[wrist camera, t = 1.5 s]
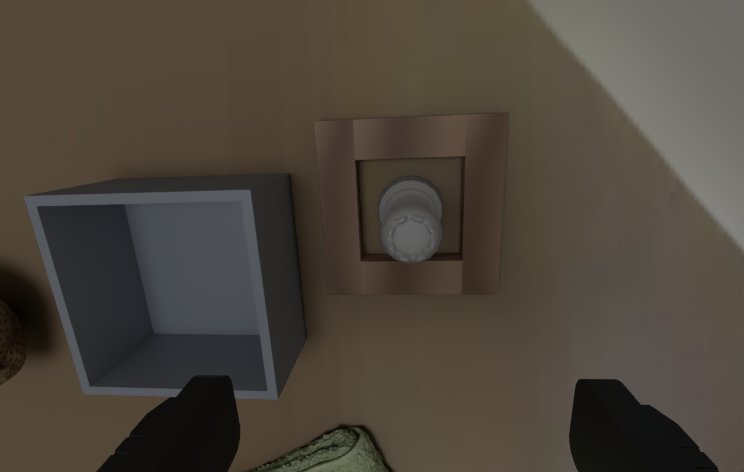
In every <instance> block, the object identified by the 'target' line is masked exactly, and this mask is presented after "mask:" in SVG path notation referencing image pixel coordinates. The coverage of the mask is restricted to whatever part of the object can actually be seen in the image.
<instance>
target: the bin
mask: <svg viewBox="0 0 744 472" xmlns="http://www.w3.org/2000/svg"><path fill="white" fill-rule="evenodd" d="M24 199H25V202H26V206H27V209H28V212H29V215H30V219H31V222H32V225H33V229H34V232H35V235H36V239H37V242H38V245H39V248H40V252H41V255H42V258H43V262H44V265H45V268H46V271H47V275H48V278H49V281H50V285H51V288H52V291H53V295H54V298H55V301H56V304H57V308H58V311H59V314H60V318H61V321H62V324H63V328H64V331H65V334H66V337H67V341H68V344H69V347H70V351H71V354H72V357H73V360H74V364H75V367H76V370H77V374H78V377H79V380H80V384H81V387H82V390H83V393H84V394H97V395H132V396H168V397H176V396H177V395H178V394H179V393H180V391H181V390H182V389H183V388H184V387H185V385H186V384H187V383H188V382H189V380H190V379H191V378H192V377H194V376H195V375H228V376H229V377H230V378H231V380H232V384H233V390H234V395H235V398H239V399H275V400H278V399H279V397H280V394H281V392H282V390H283V388H284V386H285V384H286V382H287V380H288V377H289V375H290V373H291V371H292V369H293V367H294V365H295V363H296V360H297V358H298V356H299V354H300V352H301V350H302V348H303V346H304V343H305V341H306V339H307V337H306V327H305V317H304V308H303V298H302V288H301V278H300V268H299V259H298V249H297V239H296V229H295V219H294V210H293V200H292V190H291V180H290V174H260V175H229V176H198V177H167V178H136V179H114V180H109V181H103V182H98V183H92V184H87V185H81V186H76V187H70V188H65V189H59V190H54V191H49V192H43V193H38V194H32V195H27V196H24Z"/></svg>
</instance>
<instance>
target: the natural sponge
mask: <svg viewBox="0 0 744 472" xmlns="http://www.w3.org/2000/svg"><path fill="white" fill-rule="evenodd" d="M25 359H26V347H25V343H24V340H23V336H22V330H21V325H20V322H19V319H18V317H17V315H16V314H15V312H14V311H13V309H12V308H11V307H10V306H9V305H7V304H6V303H4V302H3V301H2V300H1V299H0V385H1V384H3V383H4V382H6V381H8V380H9V379H11V378H12V377H13V376H15V375H16V374H17V373H18V372H19V371H20V369H21V367H22V366H23V364H24V362H25Z"/></svg>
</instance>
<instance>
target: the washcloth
mask: <svg viewBox="0 0 744 472" xmlns="http://www.w3.org/2000/svg"><path fill="white" fill-rule="evenodd" d="M253 472H389V471H388V469H387V468H386V467H385V466H384V465H383V462H382V456H381V455H380V453H379V451H376V449H375V447H374V445H373V443H372V441H371V440H370V438H369V436H368V435H367V433H366V432H364V431H363V430H362V429H360V428H357V427H350V428H347V429H338V430H335V431H334V432H331V433H328V434H325V435H324V436H322V438H321V439H318V440H315V441H313V442H311V443H309V444H308V445H307V446H306V447H304V448H297V449H296V450H294V451H292V452H290V453H288V454H287V455H285V456H284V457H282V458H279V459H278V460H277V461H276V462H272V463H271V464H267V465H265V466H263V465H262V466H261V468H258V470H253Z"/></svg>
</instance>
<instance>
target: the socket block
mask: <svg viewBox="0 0 744 472" xmlns="http://www.w3.org/2000/svg"><path fill="white" fill-rule="evenodd" d="M314 127H315V139H316V152H317V164H318V176H319V189H320V201H321V213H322V226H323V238H324V250H325V263H326V275H327V287H328V294H498V289H499V271H500V254H501V236H502V218H503V201H504V183H505V166H506V148H507V130H508V113H488V114H467V115H445V116H423V117H401V118H379V119H357V120H335V121H314ZM456 156H462V171H461V211H460V252H459V254H433V255H432V256H431V258H429V259H427V260H424V261H422V262H420V263H411V264H407V263H403V262H400V261H397V260H395V259H394V258H393V257H391V256H390V255H389V254H373V255H363V246H362V226H361V207H360V187H359V168H358V160H370V159H399V158H427V157H456Z"/></svg>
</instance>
